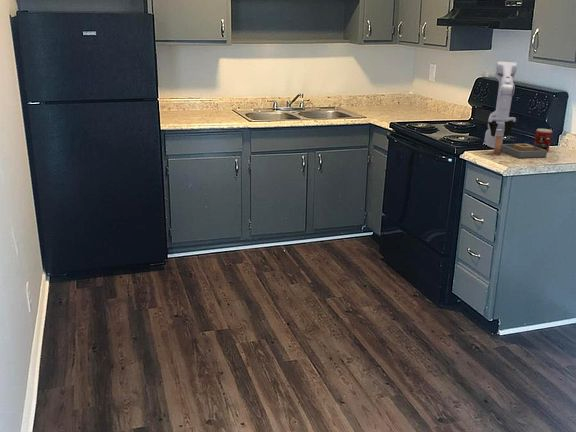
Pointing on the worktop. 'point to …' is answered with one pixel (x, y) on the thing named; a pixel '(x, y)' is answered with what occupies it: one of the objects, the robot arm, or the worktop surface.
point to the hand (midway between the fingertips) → (499, 136)
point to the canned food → (543, 138)
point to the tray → (523, 151)
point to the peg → (497, 145)
